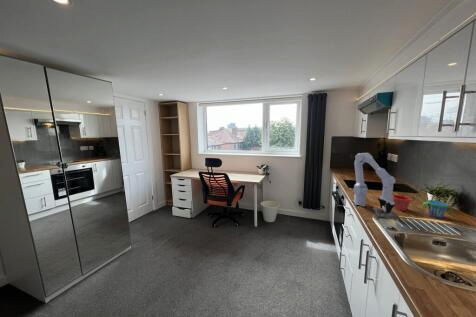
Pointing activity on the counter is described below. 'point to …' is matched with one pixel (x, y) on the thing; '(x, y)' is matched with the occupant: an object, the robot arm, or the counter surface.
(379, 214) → the collar
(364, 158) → the robot arm
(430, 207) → the snack cup
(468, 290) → the counter surface
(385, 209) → the column
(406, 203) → the flower pot
